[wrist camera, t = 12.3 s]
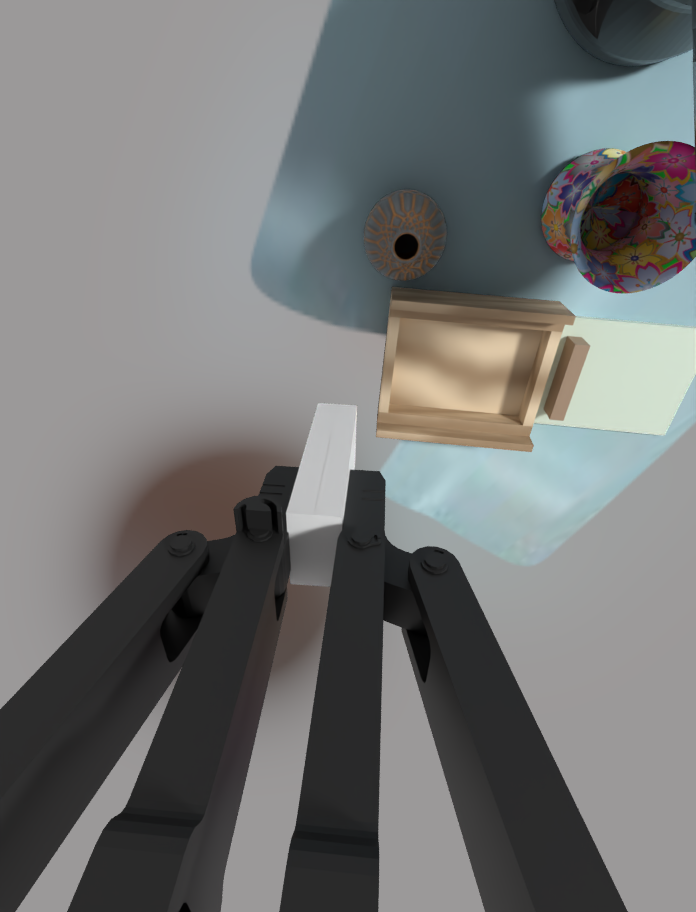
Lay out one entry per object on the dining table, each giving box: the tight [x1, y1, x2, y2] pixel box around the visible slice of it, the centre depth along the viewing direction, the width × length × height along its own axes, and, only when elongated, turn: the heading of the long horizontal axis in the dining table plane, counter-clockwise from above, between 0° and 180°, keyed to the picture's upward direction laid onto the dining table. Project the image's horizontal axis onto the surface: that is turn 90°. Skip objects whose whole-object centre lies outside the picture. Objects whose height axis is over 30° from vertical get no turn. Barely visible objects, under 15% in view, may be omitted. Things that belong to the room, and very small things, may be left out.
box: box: [376, 287, 576, 452], centre depth 48 cm, size 14×16×5 cm
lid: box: [534, 316, 696, 436], centre depth 48 cm, size 12×15×4 cm
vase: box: [364, 189, 447, 281], centre depth 40 cm, size 7×7×9 cm
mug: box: [541, 141, 696, 293], centre depth 37 cm, size 12×9×11 cm
